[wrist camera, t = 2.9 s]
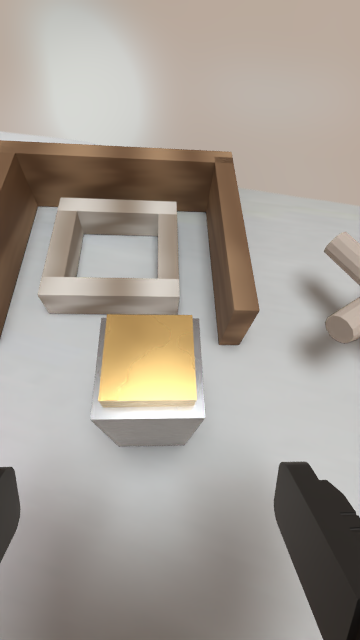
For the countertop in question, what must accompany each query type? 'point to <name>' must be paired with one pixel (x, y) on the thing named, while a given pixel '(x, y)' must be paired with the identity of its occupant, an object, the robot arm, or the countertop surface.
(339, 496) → the robot arm
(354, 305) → the light wood cross piece
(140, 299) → the walnut bay
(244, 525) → the countertop surface
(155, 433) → the block
